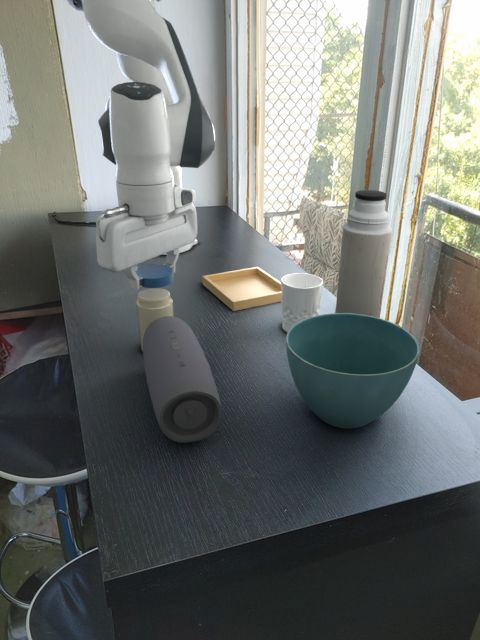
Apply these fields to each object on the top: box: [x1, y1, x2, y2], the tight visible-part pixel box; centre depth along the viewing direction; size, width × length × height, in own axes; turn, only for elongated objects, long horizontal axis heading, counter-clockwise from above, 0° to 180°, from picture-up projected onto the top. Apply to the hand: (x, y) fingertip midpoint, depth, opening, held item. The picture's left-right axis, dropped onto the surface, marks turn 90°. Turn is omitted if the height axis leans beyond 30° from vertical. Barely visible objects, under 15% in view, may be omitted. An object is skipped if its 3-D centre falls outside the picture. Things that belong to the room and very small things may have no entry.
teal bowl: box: [285, 312, 420, 430], centre depth 75 cm, size 18×18×12 cm
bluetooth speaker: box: [142, 316, 223, 444], centre depth 77 cm, size 23×9×10 cm, turn 17°
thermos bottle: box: [334, 189, 393, 319], centre depth 90 cm, size 8×8×28 cm
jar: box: [135, 287, 175, 352], centre depth 92 cm, size 6×6×10 cm
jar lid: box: [135, 263, 174, 289], centre depth 89 cm, size 7×7×2 cm
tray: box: [201, 266, 281, 312], centre depth 118 cm, size 17×15×2 cm
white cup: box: [280, 272, 324, 333], centre depth 100 cm, size 8×8×10 cm
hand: (153, 280), depth 89 cm, fingers closed on jar lid, 6 cm apart
